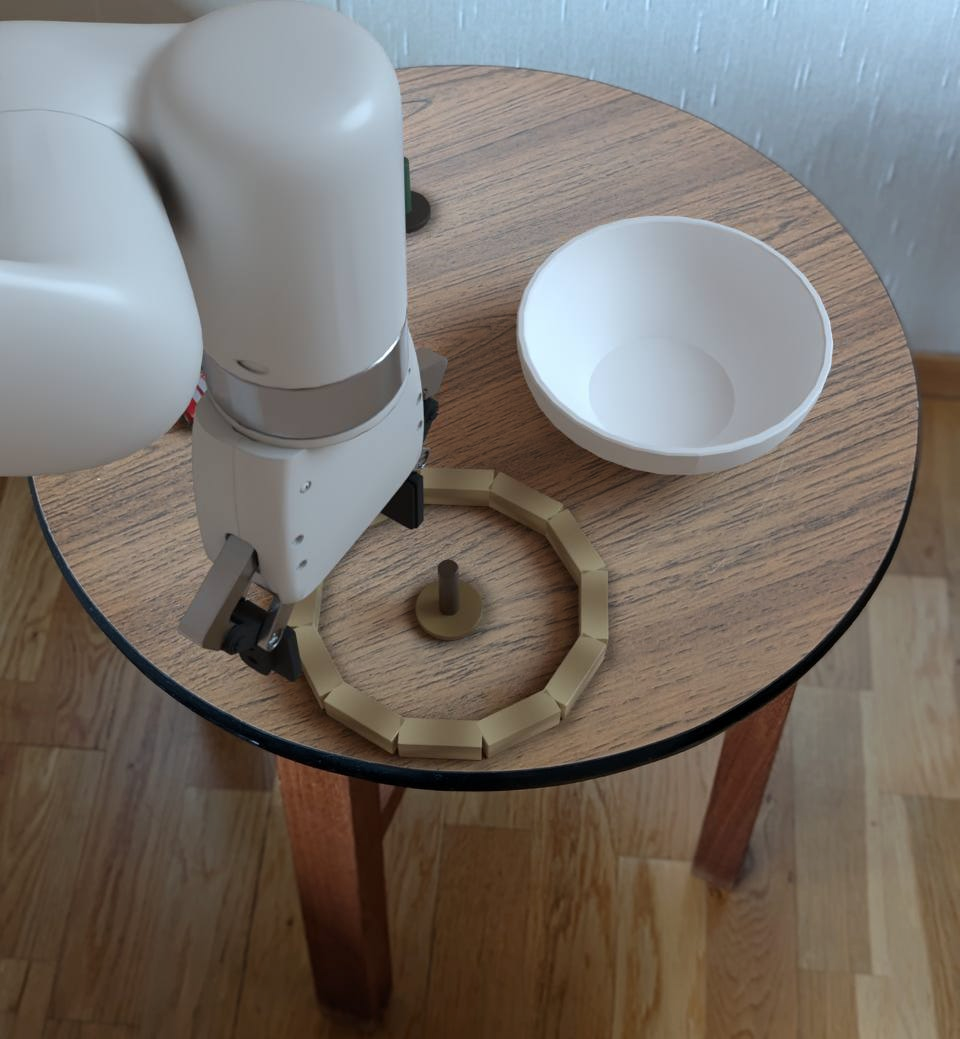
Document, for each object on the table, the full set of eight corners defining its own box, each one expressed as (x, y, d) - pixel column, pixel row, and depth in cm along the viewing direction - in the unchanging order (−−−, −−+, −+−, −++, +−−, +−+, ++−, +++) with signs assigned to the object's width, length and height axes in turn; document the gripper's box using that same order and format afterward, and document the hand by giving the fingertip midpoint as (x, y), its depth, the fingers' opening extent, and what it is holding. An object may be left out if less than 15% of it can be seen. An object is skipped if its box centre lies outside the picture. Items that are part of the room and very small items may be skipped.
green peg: (410, 241, 96) (408, 189, 92) (365, 219, 97) (360, 167, 93) (441, 208, 98) (440, 155, 94) (396, 187, 99) (393, 134, 95)
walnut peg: (459, 652, 78) (458, 610, 74) (402, 619, 79) (398, 577, 75) (495, 602, 80) (496, 558, 76) (439, 571, 81) (438, 526, 77)
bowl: (777, 282, 94) (798, 206, 88) (838, 512, 84) (866, 445, 78) (501, 296, 93) (503, 221, 87) (527, 531, 83) (531, 464, 77)
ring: (498, 819, 73) (499, 807, 71) (229, 655, 78) (224, 640, 76) (661, 572, 81) (664, 556, 80) (408, 439, 87) (406, 422, 85)
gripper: (358, 166, 53) (374, 427, 68) (61, 456, 45) (151, 684, 59) (518, 241, 51) (500, 494, 66) (237, 560, 43) (286, 770, 57)
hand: (334, 584), depth 62 cm, fingers open, 9 cm apart
